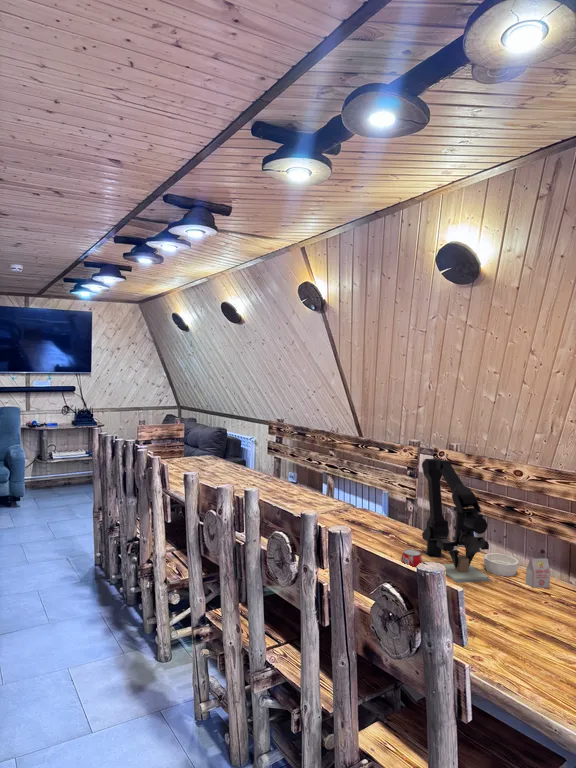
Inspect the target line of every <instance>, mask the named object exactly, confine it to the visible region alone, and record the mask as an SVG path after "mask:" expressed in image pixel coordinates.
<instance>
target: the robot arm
mask: <svg viewBox="0 0 576 768" xmlns="http://www.w3.org/2000/svg"><path fill="white" fill-rule="evenodd" d="M421 468H422V472H423V473H422V474H423V475H424V477H425V479H426V480H427V487H428V500H429V501H428V502H429V504H428V505H429V518H428V519H427V521H426V528H425V529H424V530H423V532H422V533H421V536H422V539H423V540H424V541H426V550H423V551H422V552H423V554H425V555H427V556H428V557H429V558H437V557H438V558H441V557H445V555H444V554H443V553H442V551H443V552H448V553H449V556H450V558H451V561H452V564H454V566H455V567H456V568H457V564H458V556H459V554H460V551H459V550H458V548H465V556H466V557H467V558H469V566H470V565H471V563H472V562H473V559H474V556H475V555H476V554H477V553H480V552H481V550H483V551H484V550H489V549H490V543H489V542H488V541H487V540H486V539H485V538H484V536H475V534H478V535H482V534H484V533H485V532H486V531H487V529H488V522H487V520H486V519H485V518H484V515H483V514H482V510H481V506H480V504H479V503H478V500H477V496H476V494H474V492H473V490H471V488H469V487H468V486H466V485H464V483H463V482H462V479H460V477H459V475H458V474H457V472H456V471H455V468H454V467H453V466H452V462H451V460H448V459H440V458H425V459H424V460H423V461H422V464H421ZM442 477H443V479H444V480H445V483H446V484H447V485H448V487H449V489H450V490H451V492H452V493H451V498H452V501H453V503H454V505H455V507H453V508H452V509H453V511H455V525H453V530H454V536H453V537H452V540H453V541H451V540H449V539H448V537H449V533H450V529H449V521H448V520H446V518H445V517H444V515H443V500H442V489H441V480H442Z"/></svg>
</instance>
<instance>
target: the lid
mask: <svg viewBox="0 0 576 768" xmlns="http://www.w3.org/2000/svg"><path fill="white" fill-rule="evenodd" d="M442 565H444V566H445V568H446V574H447V575H448V576H449V577H448V576H447V575H446V574H445V575H446V576H447V577H448V578H450V577H451V578H452V579H453V582H455V581H460V580H478V579H489V576H488V575H486V574H485V573H484V572H482V571H480V570H479V569H478V568H477V567H474V566H473V565H472V564H470V566H469V558H467V557H466V555H458V564H457V568H456V567H455V566H454V564H453V563H442ZM451 578H450V579H451ZM452 579H451V580H452Z"/></svg>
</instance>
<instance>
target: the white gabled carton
mask: <svg viewBox="0 0 576 768" xmlns="http://www.w3.org/2000/svg"><path fill="white" fill-rule="evenodd" d="M528 561H529V562H528V564H527V565H526V569H525V570H526V571H525V584H526V585H528V586H529V587H530V588H534V589H535V588H542V589H544V590H545V589H546V590H547V589H550V586H551V585H550V583H551V582H550V581H551V580H550V579H551V569H550V565H549V559H548V558H530V559H529V560H528Z"/></svg>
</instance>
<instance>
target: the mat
mask: <svg viewBox="0 0 576 768" xmlns="http://www.w3.org/2000/svg"><path fill="white" fill-rule="evenodd" d="M446 577H448V578H449V579H451V580H453V579H452V578H451V577H449V576H448V575H446ZM453 581H454V580H453ZM454 582H455V583H456V584H461V583H464V584H465V583H479V582H480V583H481V582H492V580H491V579H490V578H488V579H478V580H460V581H454Z"/></svg>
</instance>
